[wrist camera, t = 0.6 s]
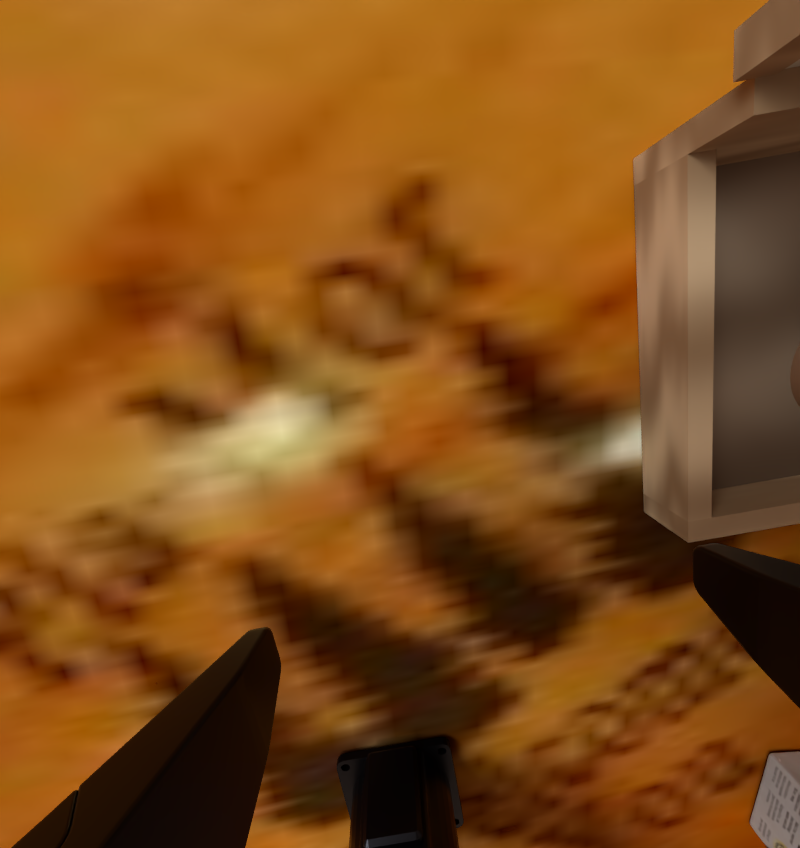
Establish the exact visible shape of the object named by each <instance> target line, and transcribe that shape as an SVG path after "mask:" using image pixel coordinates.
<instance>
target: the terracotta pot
mask: <svg viewBox="0 0 800 848" xmlns="http://www.w3.org/2000/svg"><path fill="white" fill-rule="evenodd" d="M790 383H791V390H792V393H793V396H794V398H795V400H796V402H797V404H798V405H799V407H800V344H799V346H798V348H797V350H796V353H795V355H794V358H793V362H792V366H791V373H790Z"/></svg>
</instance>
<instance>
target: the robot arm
mask: <svg viewBox="0 0 800 848" xmlns="http://www.w3.org/2000/svg"><path fill="white" fill-rule="evenodd" d="M693 581H694V585H695V588H696V590H697V592H698V593H699V595H700V596H701V597H702V598H703V600H704V601H705V602H706V603H707V604H708V606H709V607H710V608H711V609H712V610H713V612H714V613H715V614H716V615H717V617H718V618H719V619H720V620H721V621H722V623H723V624H724V625H725V626H726V627H727V629H728V630H729V631H730V632H731V634H732V635H733V636H734V637H735V638H736V640H737V641H738V642H739V643H740V644H741V646H742V647H743V648H744V649H745V651H746V652H747V653H748V654H749V655H750V656H751V657H752V659H753V660H754V661H755V662H756V663H757V664H758V665H759V666H760V668H761V669H762V670H763V671H764V672H765V673H766V674H767V675H768V676H769V677H770V678H771V679H772V680H773V681H774V682H775V683H776V684H777V685H778V686H779V688H780V689H781V690H782V691H783V692H784V693H785V694H786V695H787V696H788V697H789V698H790V699H791V700H792V701H793V702H794V703H795V704H796V705H797V706H798V707H799V708H800V565H799V564H795V563H791V562H788V561H784V560H780V559H776V558H772V557H768V556H764V555H761V554H757V553H753V552H749V551H745V550H741V549H738V548H734V547H730V546H726V545H722V544H718V543H712V544H706V545H701V546H697V547H696V548H694V550H693ZM280 673H281V661H280V657H279V653H278V650H277V647H276V643H275V640H274V637H273V633H272V631H271V629H270V628H268V627H263V628H258V629H253V630H250V631H248V632H247V633H246V634H245V635H243V636H242V637H241V638H240V639H239V640H238V641H237V642H236V643H235V644H234V645H233V646H231V647H230V648H229V649H228V650H227V651H226V652H225V653H224V654H223V655H222V656H221V657H220V658H218V659H217V660H216V661H215V662H214V663H213V664H212V665H211V666H210V667H209V668H208V669H206V670H205V671H204V672H203V673H202V674H201V675H200V676H199V677H198V678H197V679H196V680H194V681H193V682H192V683H191V684H190V685H189V686H188V687H187V688H186V689H185V690H184V691H182V692H181V693H180V694H179V695H178V696H177V697H176V698H175V699H174V700H173V701H172V702H170V703H169V704H168V705H167V706H166V707H165V708H164V709H163V710H162V711H161V712H160V713H158V714H157V715H156V716H155V717H154V718H153V719H152V720H151V721H150V722H149V723H148V724H146V725H145V726H144V727H143V728H142V729H141V730H140V731H139V732H138V733H137V734H136V735H134V736H133V737H132V738H131V739H130V740H129V741H128V742H127V743H126V744H125V745H124V746H122V747H121V748H120V749H119V750H118V751H117V752H116V753H115V754H114V755H113V756H112V757H111V758H109V759H108V760H107V761H106V762H105V763H104V764H103V765H102V766H101V767H100V768H99V769H97V770H96V771H95V772H94V773H93V774H92V775H91V776H90V777H89V778H88V779H87V780H85V781H84V782H83V783H82V784H81V785H80V787H79V790H75V791H73V792H72V793H71V794H70V795H69V796H68V797H67V798H66V799H65V800H64V801H62V802H61V803H60V804H59V805H58V806H57V807H56V808H55V809H54V810H53V811H52V812H51V813H49V814H48V815H47V816H46V817H45V818H44V819H43V820H42V821H41V822H39V823H38V824H37V825H36V826H35V827H34V828H33V829H32V830H30V831H29V832H28V833H27V834H26V835H25V836H24V837H23V838H22V839H20V840H19V841H18V842H17V843H16V844H15V845H14V846H13V847H12V848H245V846H246V842H247V838H248V834H249V830H250V826H251V822H252V818H253V814H254V810H255V806H256V802H257V798H258V794H259V790H260V786H261V782H262V778H263V773H264V769H265V765H266V761H267V756H268V751H269V745H270V739H271V733H272V726H273V720H274V713H275V706H276V700H277V693H278V686H279V680H280ZM337 771H338V775H339V779H340V782H341V786H342V790H343V793H344V797H345V801H346V804H347V808H348V812H349V815H350V819H351V826H350V840H349V848H459V845H458V838H457V831H456V828H458V827H460V826H462V824H463V815H462V809H461V803H460V798H459V792H458V787H457V782H456V776H455V771H454V765H453V760H452V754H451V749H450V743H449V741H448V739H446V738H444V737H438V738H432V739H427V740H421V741H415V742H409V743H403V744H397V745H392V746H386V747H380V748H374V749H368V750H362V751H357V752H351V753H345V754H342V755H340V756H339V758H338V761H337Z"/></svg>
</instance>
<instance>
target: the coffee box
mask: <svg viewBox="0 0 800 848" xmlns="http://www.w3.org/2000/svg"><path fill="white" fill-rule="evenodd" d="M750 825H751V826H752V828H753V829H754V831H755V832H756V833H757V835H758V836H759V837H760V839H761V840H762V841H763V843H764V844H765V845H766V847H767V848H800V751H796V752H778V753H770V754H769V756H768V760H767V763H766V767H765V770H764V774H763V777H762V781H761V784H760V788H759V792H758V795H757V798H756V802H755V806H754V809H753V812H752V816H751V819H750Z"/></svg>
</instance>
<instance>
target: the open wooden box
mask: <svg viewBox="0 0 800 848" xmlns="http://www.w3.org/2000/svg"><path fill="white" fill-rule="evenodd" d="M743 80H746V81H744V82H743V83H742V84H740V85H739V86H737V87H736V88H734V89H733V90H732V91H730V92H729V93H727V94H726V95H724V96H723V97H722V98H720V99H719V100H717V101H716V102H714V103H713V104H711V105H710V106H709V107H707V108H706V109H704V110H703V111H701V112H700V113H699V114H697V115H696V116H694V117H693V118H691V119H690V120H689V121H687V122H686V123H684V124H683V125H681V126H680V127H678V128H677V129H676V130H674V131H673V132H671V133H670V134H668V135H667V136H666V137H664V138H663V139H661V140H660V141H658V142H657V143H656V144H654V145H653V146H651V147H650V148H648V149H647V150H645V151H644V152H643V153H641V154H640V155H638V156H637V157H635V158H634V159H633V166H634V199H635V232H636V265H637V299H638V332H639V365H640V398H641V431H642V464H643V497H644V512H645V513H646V514H648V515H649V516H651V517H652V518H653V519H655V520H656V521H658V522H659V523H661V524H662V525H663V526H665V527H666V528H668V529H669V530H671V531H672V532H673V533H675V534H676V535H678V536H679V537H681V538H682V539H684V540H685V541H686V542H688V543H690V542H696V541H702V540H707V539H713V538H719V537H725V536H730V535H736V534H742V533H748V532H753V531H759V530H765V529H771V528H776V527H782V526H788V525H794V524H800V407H799V405H798V404H797V402H796V400H795V398H794V396H793V393H792V390H791V383H790V373H791V366H792V362H793V358H794V355H795V353H796V350H797V348H798V346H799V344H800V0H769V1H768V2H767V3H766V4H765V5H764V6H762V7H761V8H760V9H759V10H758V11H757V12H755V13H754V14H753V15H752V16H751V17H750V18H749V19H747V20H746V21H745V22H744V23H743V24H742V25H740V26H739V27H738V28H737V29H736V30H735V31H734V73H733V82H738V81H743Z"/></svg>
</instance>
